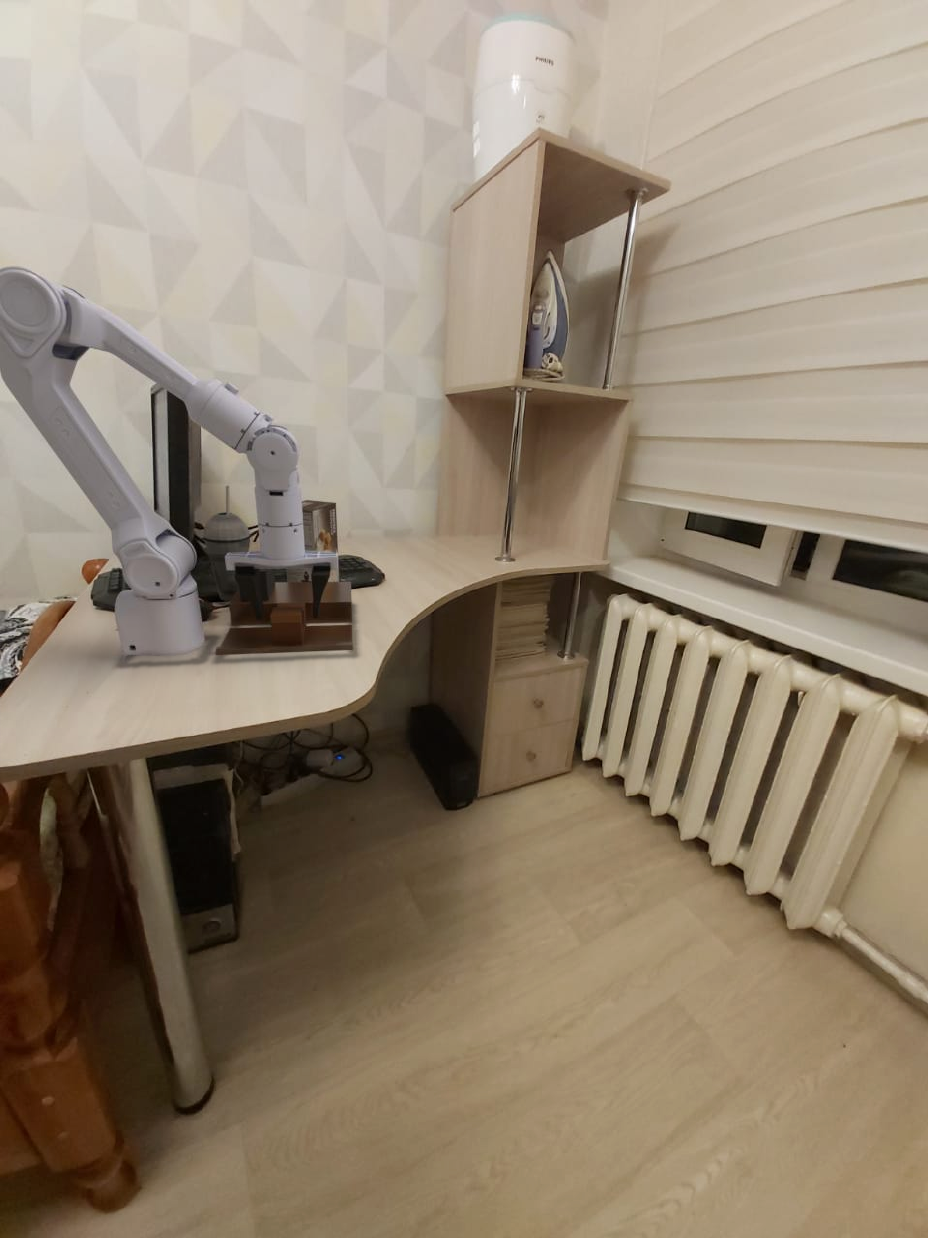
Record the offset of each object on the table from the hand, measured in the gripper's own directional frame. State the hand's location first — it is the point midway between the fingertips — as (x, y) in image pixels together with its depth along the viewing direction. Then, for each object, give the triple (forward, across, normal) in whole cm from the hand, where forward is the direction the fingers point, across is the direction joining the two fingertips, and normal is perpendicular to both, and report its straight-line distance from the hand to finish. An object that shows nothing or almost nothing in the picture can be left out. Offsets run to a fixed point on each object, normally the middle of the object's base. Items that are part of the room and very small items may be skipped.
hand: (288, 616), depth 72 cm
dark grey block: (0, +6, -10) cm, 12 cm away
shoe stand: (+4, 0, -4) cm, 6 cm away
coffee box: (+5, -2, -25) cm, 26 cm away
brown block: (+3, 0, -1) cm, 4 cm away
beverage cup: (+5, +11, -18) cm, 22 cm away
